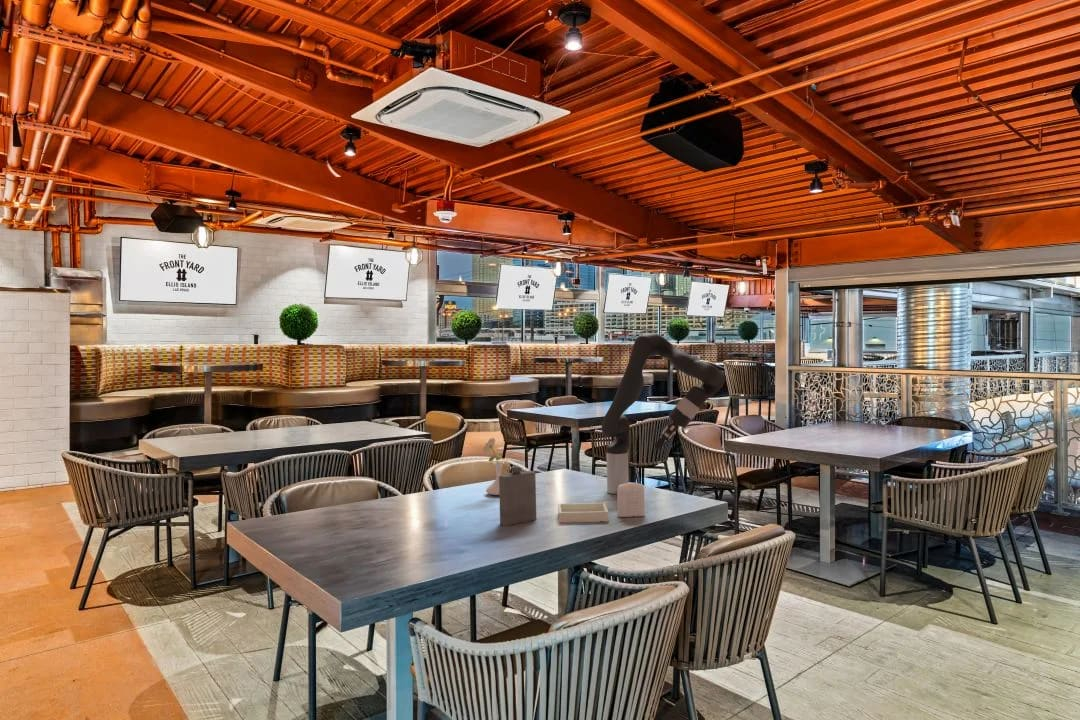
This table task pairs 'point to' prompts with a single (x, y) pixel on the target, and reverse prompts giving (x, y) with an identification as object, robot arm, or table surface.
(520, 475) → the flask
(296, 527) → the table surface
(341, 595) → the table surface
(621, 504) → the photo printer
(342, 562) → the table surface
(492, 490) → the flower in vase
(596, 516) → the trough
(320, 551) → the table surface
